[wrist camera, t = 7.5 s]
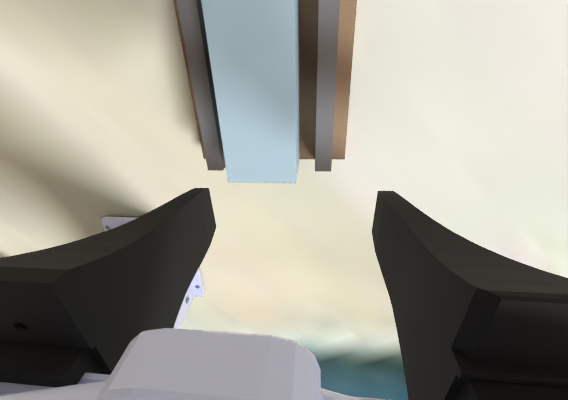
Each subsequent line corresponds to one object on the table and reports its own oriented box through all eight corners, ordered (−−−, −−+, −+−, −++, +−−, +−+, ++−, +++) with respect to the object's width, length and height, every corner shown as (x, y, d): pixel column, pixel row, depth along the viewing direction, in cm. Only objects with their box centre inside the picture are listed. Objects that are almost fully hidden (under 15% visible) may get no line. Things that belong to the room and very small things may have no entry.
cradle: (343, 152, 20) (347, 171, 18) (209, 152, 21) (193, 170, 19) (359, -71, 14) (369, -95, 12) (172, -56, 15) (141, -76, 13)
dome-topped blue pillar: (299, 157, 20) (295, 183, 16) (243, 156, 20) (228, 182, 17) (298, -77, 14) (292, -114, 10) (217, -71, 14) (185, -104, 11)
